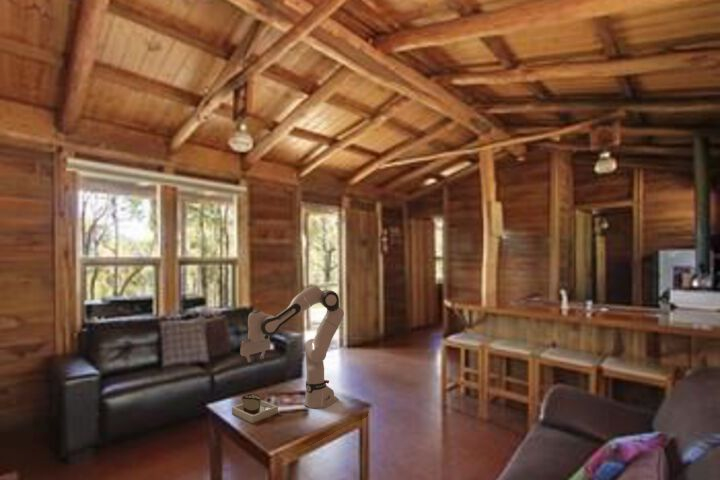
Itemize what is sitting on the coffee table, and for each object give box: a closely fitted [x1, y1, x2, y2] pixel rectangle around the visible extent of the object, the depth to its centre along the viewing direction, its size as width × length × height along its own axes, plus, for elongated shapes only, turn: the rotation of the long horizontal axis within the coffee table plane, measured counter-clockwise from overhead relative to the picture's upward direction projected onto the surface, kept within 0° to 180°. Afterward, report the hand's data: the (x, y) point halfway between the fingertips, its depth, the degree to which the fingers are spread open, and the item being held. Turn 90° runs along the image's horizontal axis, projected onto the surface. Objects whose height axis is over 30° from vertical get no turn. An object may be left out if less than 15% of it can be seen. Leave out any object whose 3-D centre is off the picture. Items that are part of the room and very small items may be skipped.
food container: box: [241, 393, 262, 415], centre depth 243 cm, size 12×6×10 cm, turn 74°
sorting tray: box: [231, 400, 279, 424], centre depth 243 cm, size 18×20×4 cm
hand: (255, 360), depth 253 cm, fingers open, 8 cm apart
